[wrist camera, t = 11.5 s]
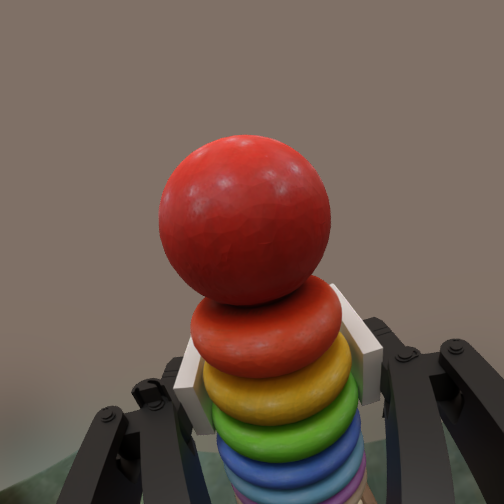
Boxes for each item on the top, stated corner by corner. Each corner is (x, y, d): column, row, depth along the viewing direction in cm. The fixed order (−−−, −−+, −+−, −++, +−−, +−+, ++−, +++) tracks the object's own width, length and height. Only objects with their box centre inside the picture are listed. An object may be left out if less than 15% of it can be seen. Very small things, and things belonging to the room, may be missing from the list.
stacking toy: (229, 536, 9) (26, 189, 5) (248, 445, 17) (158, 175, 13) (371, 528, 8) (383, 74, 4) (358, 433, 16) (326, 134, 11)
